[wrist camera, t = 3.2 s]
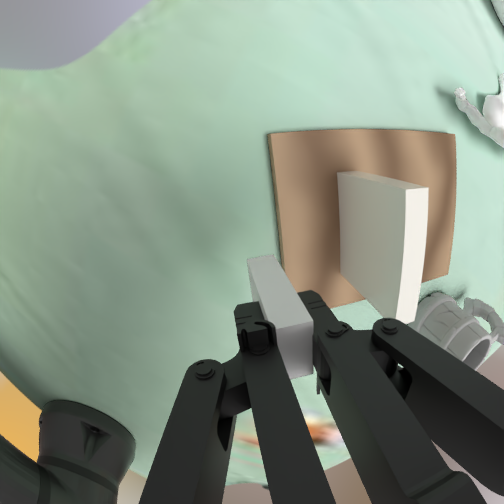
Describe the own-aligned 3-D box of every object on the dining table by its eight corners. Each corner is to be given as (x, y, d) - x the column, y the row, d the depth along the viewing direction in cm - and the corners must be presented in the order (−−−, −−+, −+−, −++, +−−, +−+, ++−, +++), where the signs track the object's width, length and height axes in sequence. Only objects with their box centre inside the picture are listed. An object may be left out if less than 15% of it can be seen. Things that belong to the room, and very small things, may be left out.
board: (285, 311, 27) (288, 317, 26) (267, 134, 21) (270, 133, 20) (441, 270, 29) (447, 274, 28) (447, 133, 23) (455, 134, 22)
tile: (340, 273, 25) (393, 328, 17) (336, 172, 22) (405, 189, 13) (359, 269, 25) (416, 320, 17) (357, 170, 22) (430, 187, 14)
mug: (405, 305, 29) (469, 366, 18) (468, 268, 30) (531, 309, 19) (404, 349, 32) (454, 409, 21) (463, 312, 33) (515, 356, 22)
